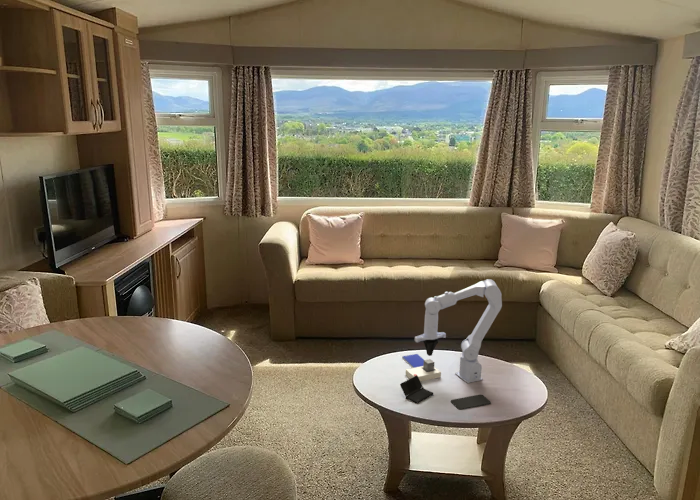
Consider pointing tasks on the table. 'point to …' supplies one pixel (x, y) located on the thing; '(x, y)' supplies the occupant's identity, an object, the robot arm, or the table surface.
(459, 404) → the phone
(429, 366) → the plug
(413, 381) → the handheld gaming console
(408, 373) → the socket plate
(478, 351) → the robot arm
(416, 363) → the hard drive
